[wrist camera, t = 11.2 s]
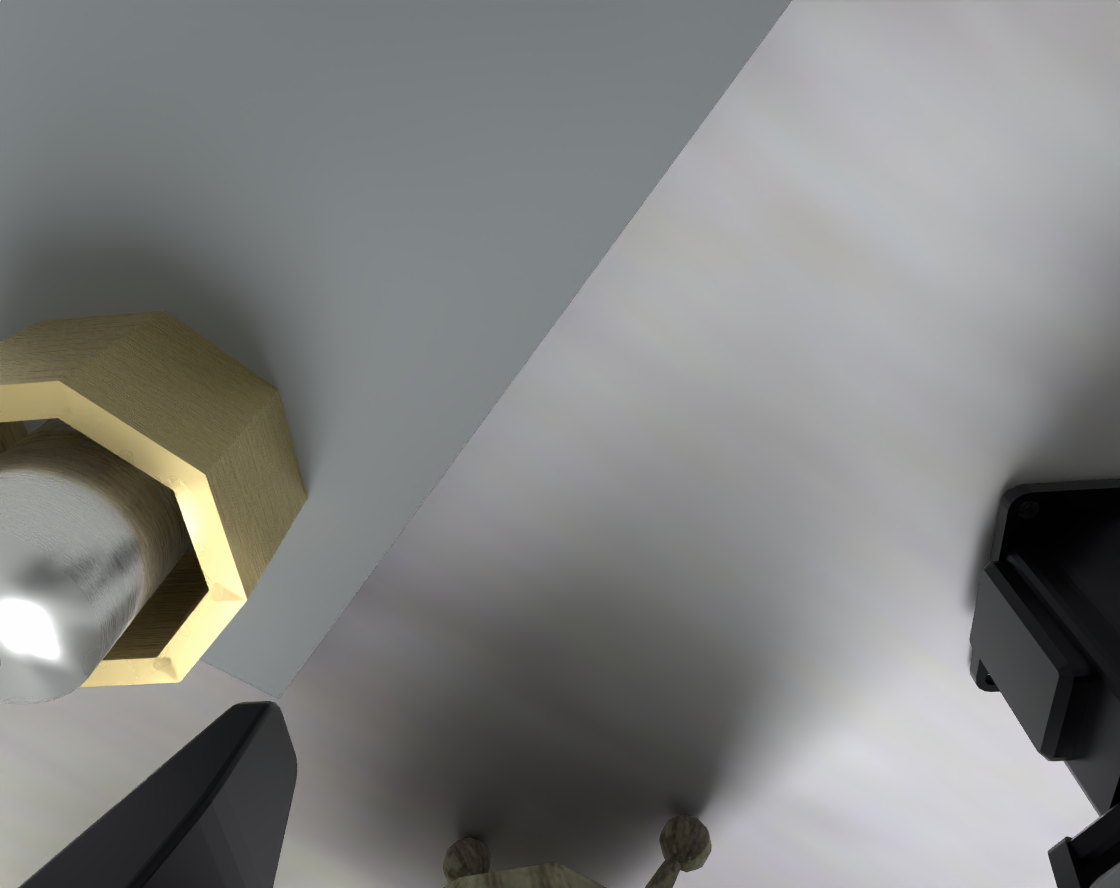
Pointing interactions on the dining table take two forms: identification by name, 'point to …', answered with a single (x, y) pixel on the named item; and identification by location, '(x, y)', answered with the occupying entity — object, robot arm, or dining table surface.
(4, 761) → the dining table surface
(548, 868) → the tabletop clock
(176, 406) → the brass ring
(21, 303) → the fit board
